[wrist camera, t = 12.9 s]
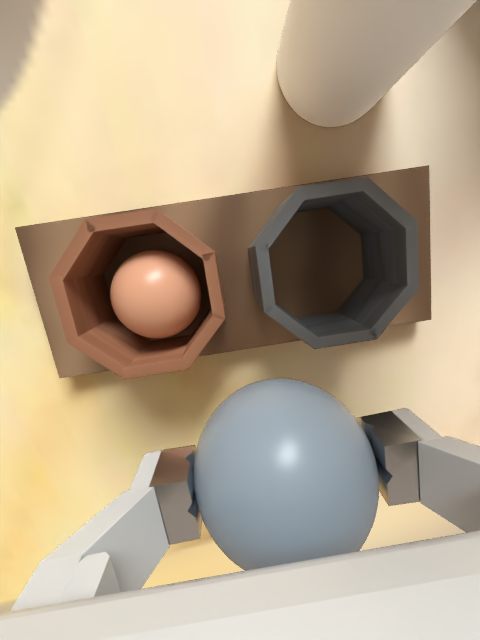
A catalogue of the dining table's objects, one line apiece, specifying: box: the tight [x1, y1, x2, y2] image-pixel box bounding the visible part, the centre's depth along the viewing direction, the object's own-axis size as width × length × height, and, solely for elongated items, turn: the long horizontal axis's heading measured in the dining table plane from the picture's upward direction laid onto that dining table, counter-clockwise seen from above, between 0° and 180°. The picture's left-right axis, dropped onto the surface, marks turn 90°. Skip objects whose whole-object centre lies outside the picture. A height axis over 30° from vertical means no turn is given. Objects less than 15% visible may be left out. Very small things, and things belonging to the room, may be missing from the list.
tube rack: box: [15, 166, 431, 379], centre depth 18 cm, size 26×10×6 cm, turn 99°
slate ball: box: [194, 378, 379, 571], centre depth 9 cm, size 5×5×5 cm
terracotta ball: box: [110, 250, 201, 338], centre depth 17 cm, size 5×5×5 cm
